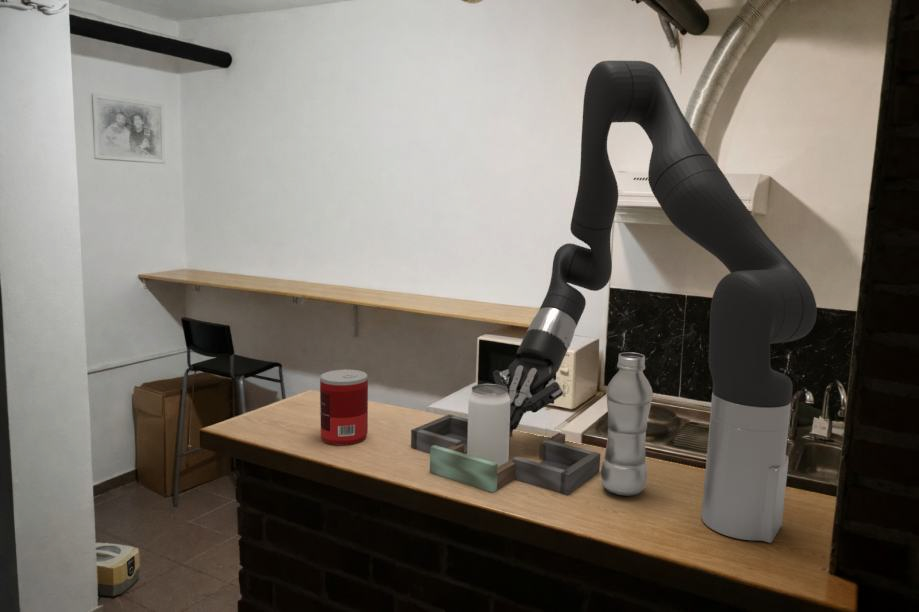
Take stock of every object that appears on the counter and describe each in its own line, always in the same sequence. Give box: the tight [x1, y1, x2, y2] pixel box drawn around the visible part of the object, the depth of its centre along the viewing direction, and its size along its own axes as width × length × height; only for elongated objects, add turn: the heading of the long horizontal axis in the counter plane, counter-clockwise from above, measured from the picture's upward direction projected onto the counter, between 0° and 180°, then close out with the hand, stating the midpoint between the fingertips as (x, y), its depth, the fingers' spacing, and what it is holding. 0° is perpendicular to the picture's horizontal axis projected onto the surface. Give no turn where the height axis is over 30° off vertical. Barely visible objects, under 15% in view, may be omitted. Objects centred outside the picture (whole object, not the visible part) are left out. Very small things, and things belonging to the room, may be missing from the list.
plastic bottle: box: [600, 351, 654, 496], centre depth 98 cm, size 6×7×20 cm
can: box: [467, 383, 510, 467], centre depth 108 cm, size 6×6×12 cm
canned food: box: [319, 369, 369, 446], centre depth 118 cm, size 8×8×11 cm
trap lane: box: [410, 413, 602, 496], centre depth 110 cm, size 29×22×4 cm
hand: (505, 428), depth 111 cm, fingers closed
